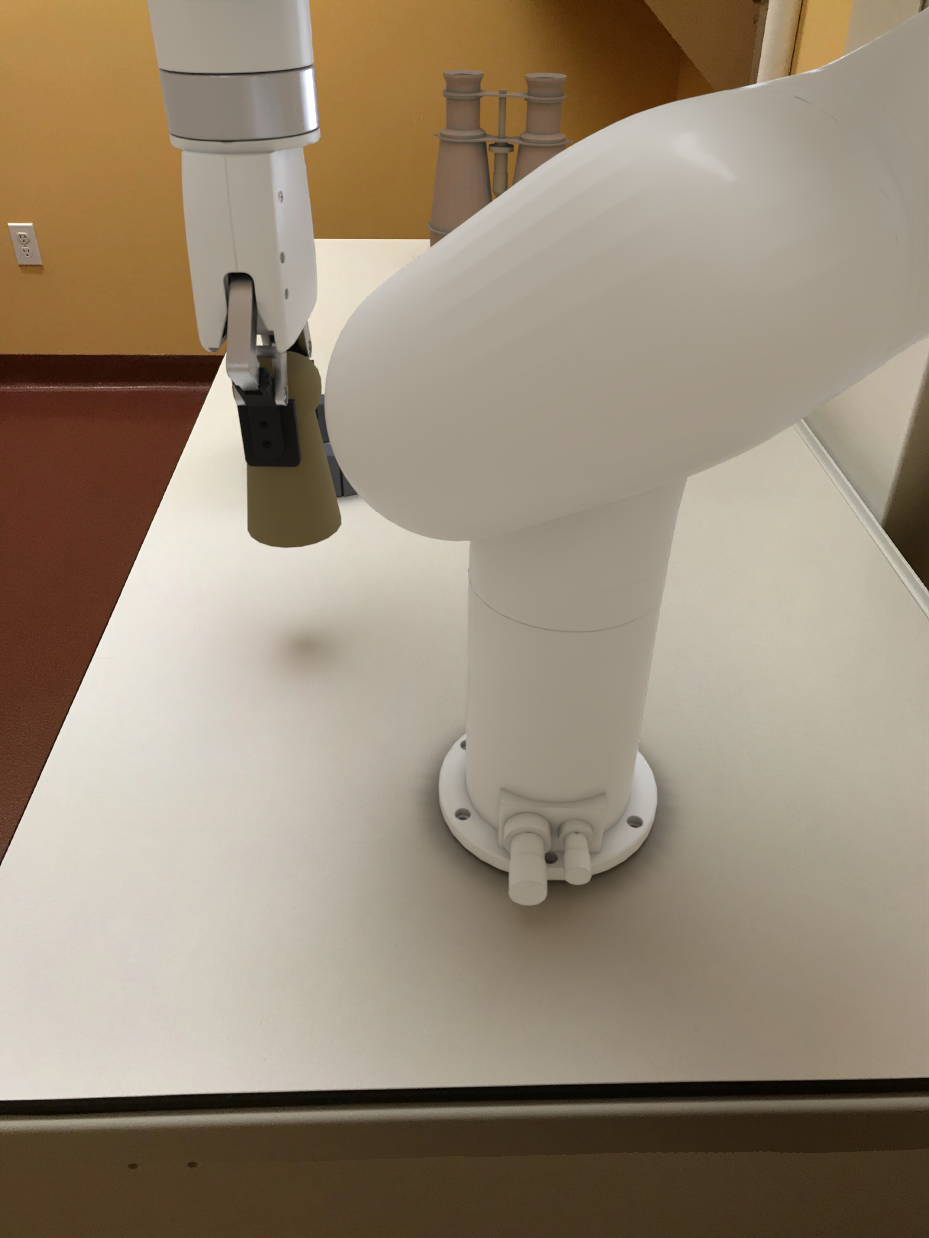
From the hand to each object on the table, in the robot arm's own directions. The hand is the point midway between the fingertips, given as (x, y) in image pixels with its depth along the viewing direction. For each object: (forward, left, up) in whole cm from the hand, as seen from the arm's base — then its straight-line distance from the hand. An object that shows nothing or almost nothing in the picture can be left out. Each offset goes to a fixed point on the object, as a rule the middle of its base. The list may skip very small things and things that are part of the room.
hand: (284, 439), depth 58 cm
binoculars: (+86, -12, -16) cm, 89 cm away
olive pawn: (0, 0, -6) cm, 6 cm away
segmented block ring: (+27, +2, -16) cm, 32 cm away
